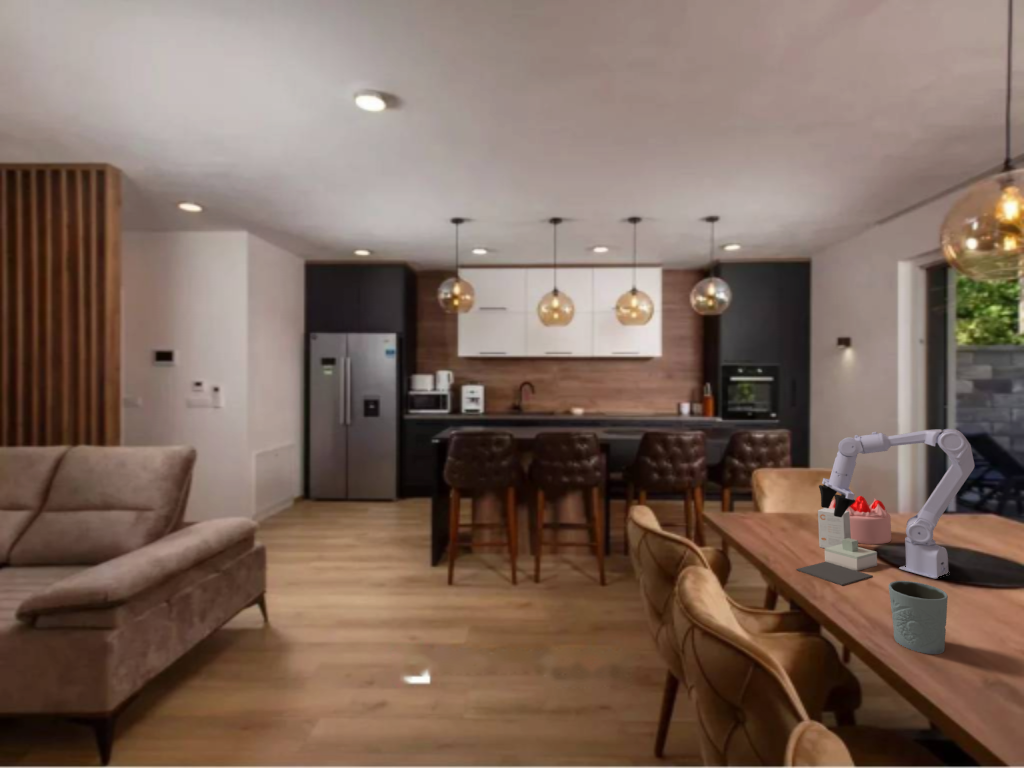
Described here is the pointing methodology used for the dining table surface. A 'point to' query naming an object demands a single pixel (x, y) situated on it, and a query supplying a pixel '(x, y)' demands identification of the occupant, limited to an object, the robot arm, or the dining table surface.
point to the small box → (832, 527)
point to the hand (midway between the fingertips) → (831, 511)
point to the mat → (834, 573)
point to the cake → (868, 521)
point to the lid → (850, 549)
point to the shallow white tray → (851, 561)
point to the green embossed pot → (919, 616)
